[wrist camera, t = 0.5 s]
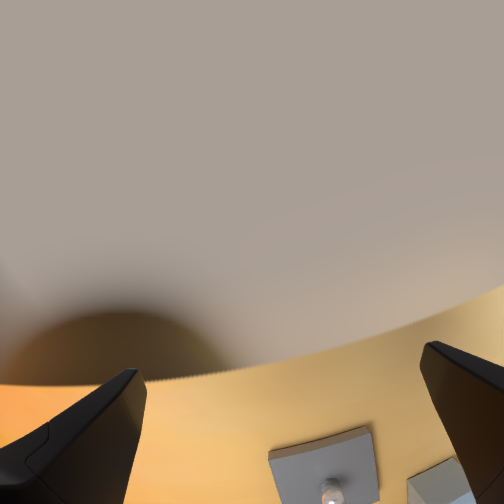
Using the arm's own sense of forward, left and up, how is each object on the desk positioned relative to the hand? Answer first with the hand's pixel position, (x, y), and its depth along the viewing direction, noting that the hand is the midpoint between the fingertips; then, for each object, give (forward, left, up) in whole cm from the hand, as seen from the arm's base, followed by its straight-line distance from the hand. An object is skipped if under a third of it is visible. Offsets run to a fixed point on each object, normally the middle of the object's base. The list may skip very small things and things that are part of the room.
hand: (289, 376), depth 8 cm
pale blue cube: (-23, +3, -14) cm, 27 cm away
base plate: (-12, +7, -14) cm, 19 cm away
